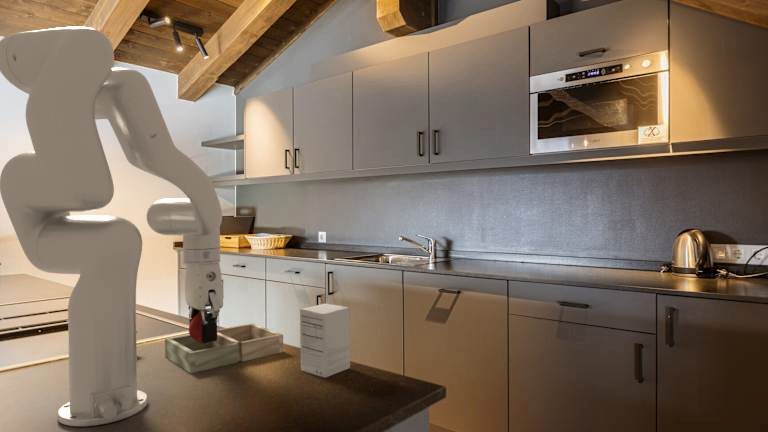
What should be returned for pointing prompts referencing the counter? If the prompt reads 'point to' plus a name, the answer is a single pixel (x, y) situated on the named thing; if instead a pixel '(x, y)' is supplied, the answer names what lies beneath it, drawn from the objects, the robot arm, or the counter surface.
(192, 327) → the onion
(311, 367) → the supplement box
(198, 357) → the compartment tray
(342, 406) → the counter surface
